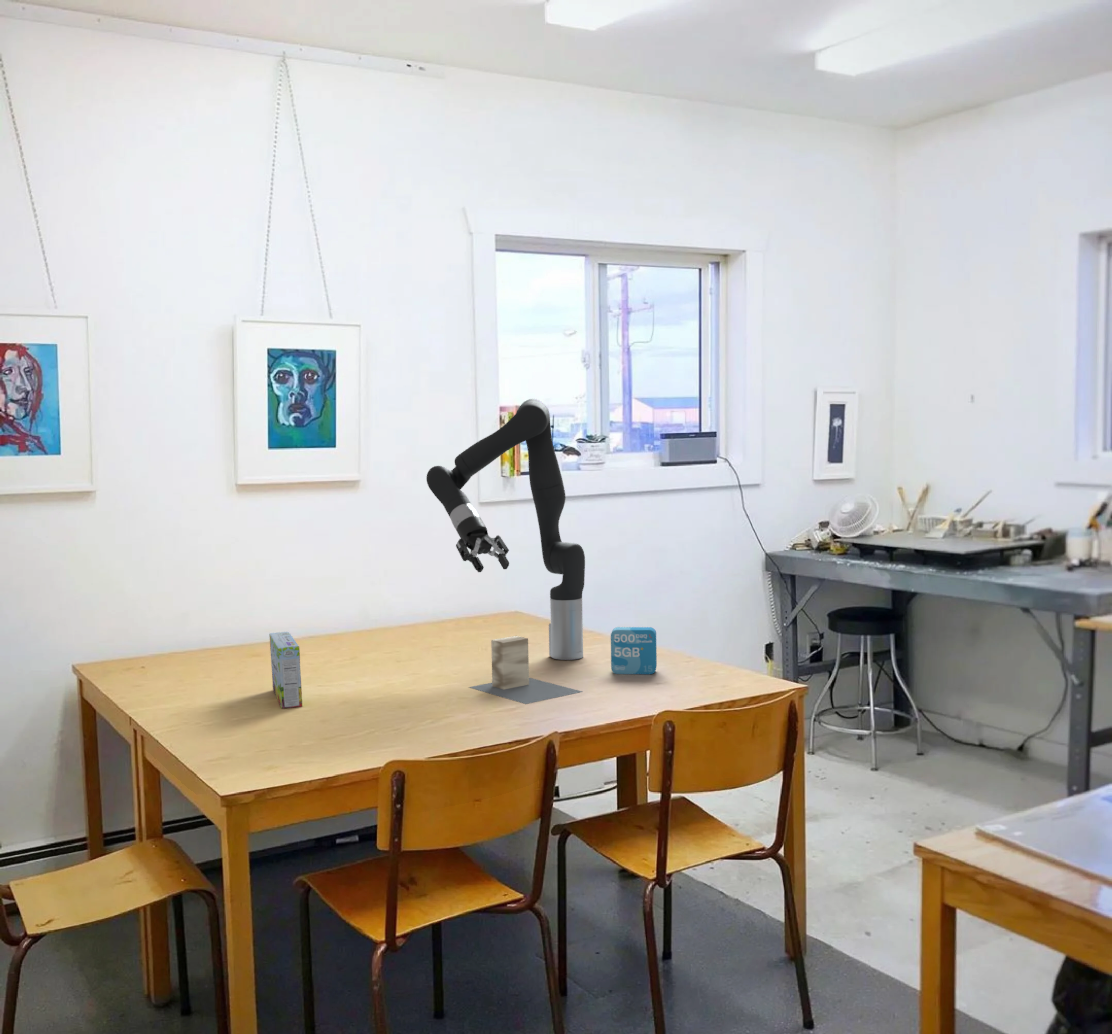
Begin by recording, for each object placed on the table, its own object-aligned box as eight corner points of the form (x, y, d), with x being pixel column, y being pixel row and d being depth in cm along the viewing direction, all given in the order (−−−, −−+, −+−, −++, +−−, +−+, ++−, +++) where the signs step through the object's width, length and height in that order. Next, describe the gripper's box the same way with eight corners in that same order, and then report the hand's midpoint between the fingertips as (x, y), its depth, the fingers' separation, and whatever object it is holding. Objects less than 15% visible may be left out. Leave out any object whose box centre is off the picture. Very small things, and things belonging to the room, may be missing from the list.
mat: (468, 688, 277) (468, 687, 277) (524, 677, 288) (524, 676, 288) (526, 705, 259) (526, 704, 258) (583, 692, 270) (583, 691, 270)
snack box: (270, 690, 279) (268, 632, 278) (292, 688, 281) (290, 630, 280) (280, 709, 259) (277, 647, 258) (303, 707, 261) (301, 645, 260)
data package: (611, 674, 290) (610, 629, 289) (612, 670, 295) (611, 626, 294) (656, 674, 289) (655, 630, 288) (656, 671, 293) (656, 627, 292)
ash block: (491, 686, 278) (490, 639, 277) (516, 681, 283) (515, 635, 282) (504, 689, 274) (502, 642, 273) (529, 684, 279) (528, 638, 278)
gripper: (452, 516, 292) (478, 562, 284) (494, 513, 301) (521, 557, 293) (441, 534, 296) (467, 580, 288) (483, 531, 305) (509, 575, 298)
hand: (494, 568), depth 291 cm, fingers open, 8 cm apart
